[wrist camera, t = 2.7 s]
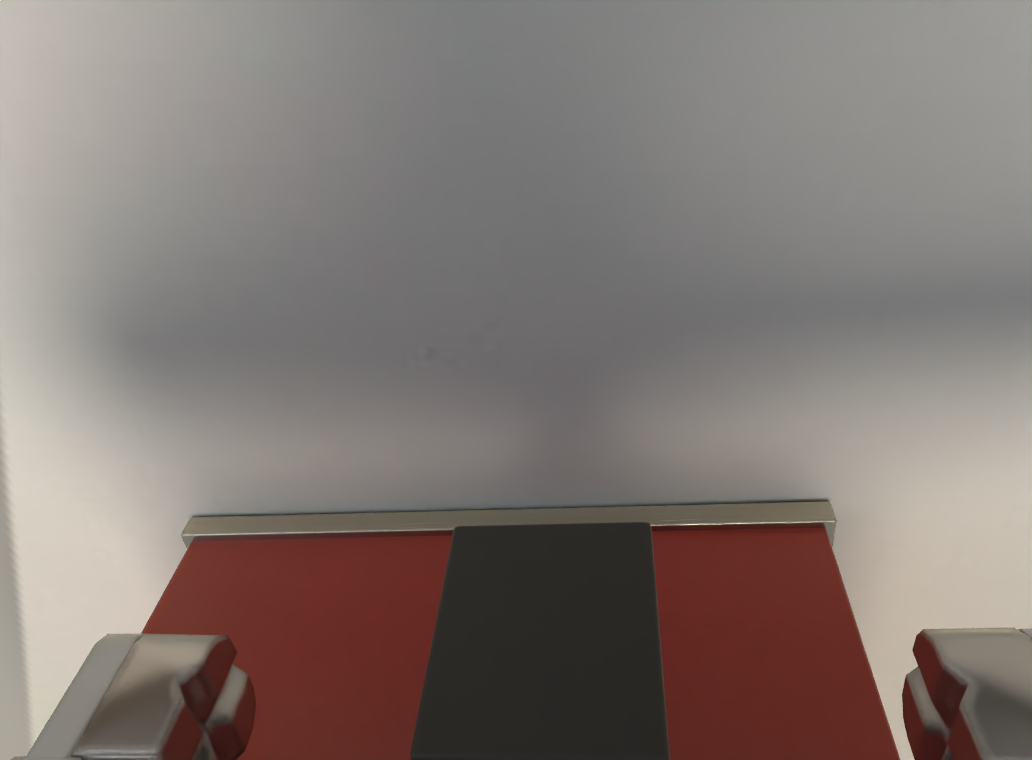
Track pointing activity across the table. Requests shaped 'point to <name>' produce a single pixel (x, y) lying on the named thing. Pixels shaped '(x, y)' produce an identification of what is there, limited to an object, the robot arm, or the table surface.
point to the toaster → (415, 600)
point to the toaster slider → (546, 647)
